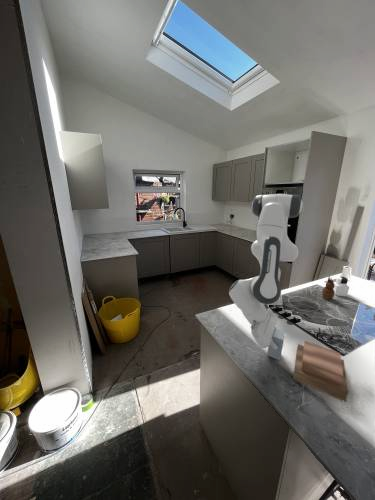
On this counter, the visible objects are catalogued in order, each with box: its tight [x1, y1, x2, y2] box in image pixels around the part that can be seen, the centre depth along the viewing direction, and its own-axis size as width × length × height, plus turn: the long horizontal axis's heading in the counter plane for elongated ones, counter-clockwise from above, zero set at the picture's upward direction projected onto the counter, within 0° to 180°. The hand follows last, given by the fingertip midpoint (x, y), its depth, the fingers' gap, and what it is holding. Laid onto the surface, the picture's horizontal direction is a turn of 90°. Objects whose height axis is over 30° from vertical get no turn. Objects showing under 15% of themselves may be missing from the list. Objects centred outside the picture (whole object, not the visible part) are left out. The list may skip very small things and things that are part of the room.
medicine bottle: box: [333, 275, 350, 297], centre depth 138 cm, size 7×7×12 cm
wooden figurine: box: [321, 276, 335, 301], centre depth 132 cm, size 7×6×15 cm
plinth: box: [292, 340, 349, 402], centre depth 78 cm, size 16×16×8 cm
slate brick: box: [266, 329, 286, 361], centre depth 85 cm, size 5×5×10 cm
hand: (277, 342), depth 85 cm, fingers closed on slate brick, 5 cm apart
